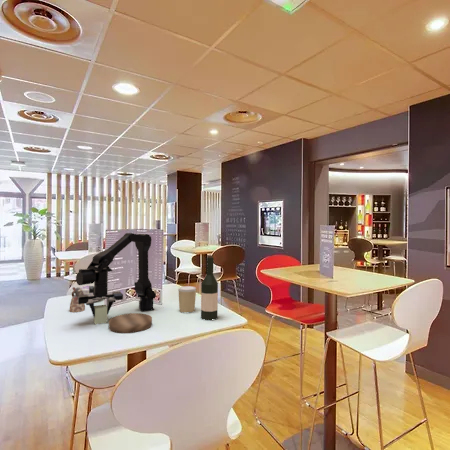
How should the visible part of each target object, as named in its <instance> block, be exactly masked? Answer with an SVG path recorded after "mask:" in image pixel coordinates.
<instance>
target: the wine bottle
mask: <svg viewBox="0 0 450 450" xmlns="http://www.w3.org/2000/svg"><path fill="white" fill-rule="evenodd" d="M200 286H201V287H200V288H201V290H200V294H201V295H200V296H201V297H200V319H201V318H202V319H201V320H203V319H205V320H204V321H213V320H212V319H215V320H217V319H218V311H219V310H218V309H219V308H218V306H219V305H218V302H219V299H218V296H219V295H218V294H219V293H218V292H219V282H218V281H217V279H216V277H215V275H214V257H213V255H207V257H206V275H205V276H204V279H203V280H202V282H201V284H200ZM216 318H217V319H216Z"/></svg>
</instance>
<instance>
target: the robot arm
mask: <svg viewBox="0 0 450 450" xmlns="http://www.w3.org/2000/svg"><path fill="white" fill-rule="evenodd" d="M133 242H134V245H135V248H136V249H137V251H138V257H137V258H138V259H137V260H138V262H137V263H138V279H137V281H136V282H134V291H135V294H136V295H137V297H138V298H139V300H138V309H139V310H140V311H141V312H149V311H154V310H155V308H154V299H156V296H157V293H156V292H155V291H154V289H153V286H152V282H151V281H150V278H149V250H150V248H151V246H152V236H151V235H150V234H148V233H147V234H146V233H138V234H137V233H132V232H126V233H124V234H123V236H122V237H120V238H119V239H118V240H116V242H115V243H113V244H111V245H110V246H109V247H108V248H107V249H106V250H102V251H100V252H98V253H97V254H94V256H93V257H92V261H91V262H90V263H89V265H88V266H87V268H85V269H84V268H82V269H81V268H79V269H78V272H77V274H76V276H75V282H76V284H77V285H78V286H86V285H88V286H89V293H93V295H94V296H88V295H87V294H86V295H79V296H78V304H86V305H85V306H89V307H90V310H91V313H92V317H93V318H94V317H95V311H94V306H95V302H93V300H99V301H100V300H106V306H107V316H108V315H109V313H110V310H111V307H112V306H113V305H114V303H116V301H120V300H121V301H122V300H124V294H123V293H122V292H121V291H113V292H112V293H110V294H108V293H109V292H108V291H109V290H108V288H109V286H108V285H109V284H108V279H109V278H108V277H109V273H110V272H113V269H111V267H110V265H111V264H112V262H113V261H114V260H115V259H114V258H115V257H116V255H118V254H119V253H120V252H121V251H122V250H124V249H125V248H126V247H128V245H129V244H130V243H133ZM91 284H93V285H94V286H90V285H91Z"/></svg>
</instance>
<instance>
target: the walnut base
mask: <svg viewBox="0 0 450 450" xmlns="http://www.w3.org/2000/svg"><path fill="white" fill-rule="evenodd" d="M108 320H109V321H108V329H109V331H110V332H112V333H118V334H132V333H139V332H143V331H146V330H148V329H150V328H151V327H152V325H153V317H152V315H150V314H147V313H143V312H142V313H139V312H138V313H137V312H136V313H135V312H132V313H131V312H130V313H123V314H119V315H115V316H113V317H111V318H110V319H108Z"/></svg>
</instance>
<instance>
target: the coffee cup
mask: <svg viewBox="0 0 450 450" xmlns="http://www.w3.org/2000/svg"><path fill="white" fill-rule="evenodd" d="M177 290H178V306H179V307H178V308H179V312H180V313H182V312H191V313H194V312H195V309H196V307H195V306H196V298H197V297H196V296H197V288H196V286H189V285H188V286H180V287H179V288H178V289H177ZM193 311H194V312H193Z"/></svg>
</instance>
